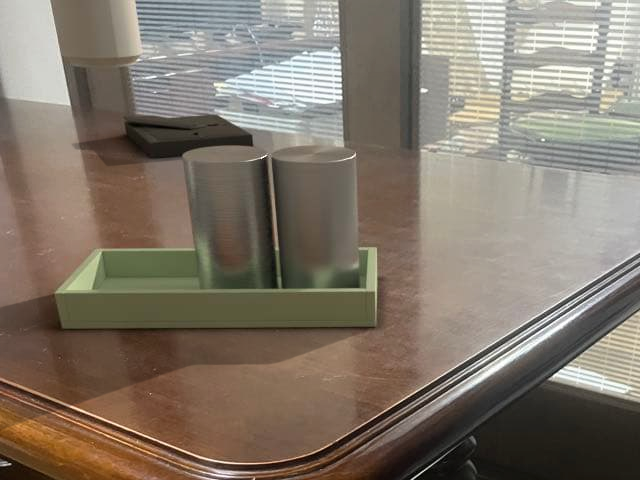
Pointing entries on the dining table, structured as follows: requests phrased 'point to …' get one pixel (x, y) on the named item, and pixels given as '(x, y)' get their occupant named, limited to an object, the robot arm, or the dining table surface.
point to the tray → (201, 296)
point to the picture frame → (183, 134)
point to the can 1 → (98, 32)
